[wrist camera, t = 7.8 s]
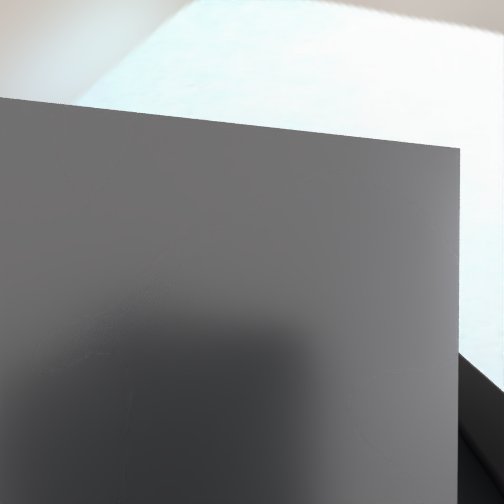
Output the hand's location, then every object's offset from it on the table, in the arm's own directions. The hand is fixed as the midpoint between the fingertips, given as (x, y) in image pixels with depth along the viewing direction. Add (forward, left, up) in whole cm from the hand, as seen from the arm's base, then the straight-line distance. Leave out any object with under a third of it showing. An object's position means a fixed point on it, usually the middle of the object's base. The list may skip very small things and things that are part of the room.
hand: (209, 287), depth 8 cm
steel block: (-1, -1, -8) cm, 9 cm away
